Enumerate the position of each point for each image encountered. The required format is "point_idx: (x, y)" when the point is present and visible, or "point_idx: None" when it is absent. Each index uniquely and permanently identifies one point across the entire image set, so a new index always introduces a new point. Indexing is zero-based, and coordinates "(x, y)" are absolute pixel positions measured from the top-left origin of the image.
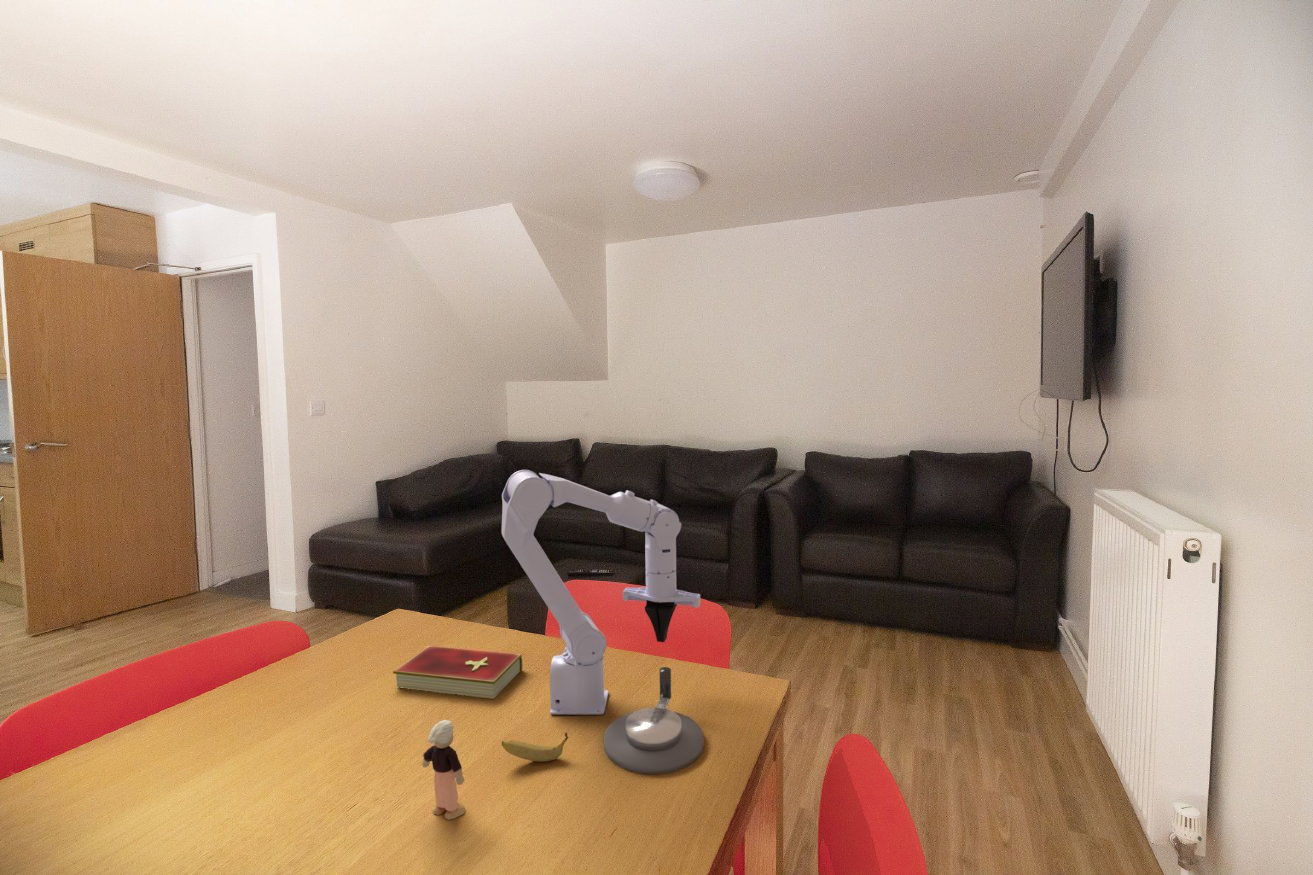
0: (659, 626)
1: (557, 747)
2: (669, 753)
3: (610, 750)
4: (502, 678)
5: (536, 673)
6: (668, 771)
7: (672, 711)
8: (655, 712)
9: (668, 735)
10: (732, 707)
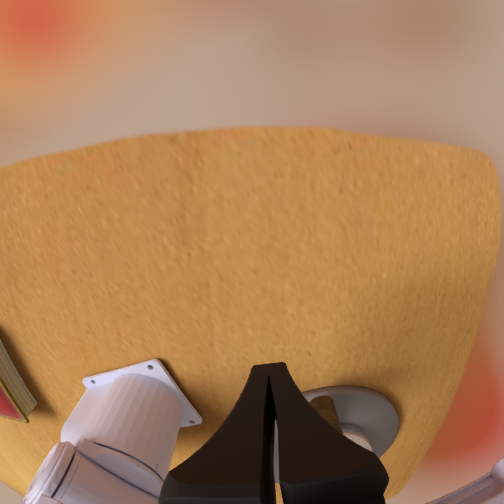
0: (272, 445)
1: None
2: None
3: (275, 480)
4: (13, 388)
5: (11, 324)
6: None
7: (351, 439)
8: None
9: None
10: (436, 304)
